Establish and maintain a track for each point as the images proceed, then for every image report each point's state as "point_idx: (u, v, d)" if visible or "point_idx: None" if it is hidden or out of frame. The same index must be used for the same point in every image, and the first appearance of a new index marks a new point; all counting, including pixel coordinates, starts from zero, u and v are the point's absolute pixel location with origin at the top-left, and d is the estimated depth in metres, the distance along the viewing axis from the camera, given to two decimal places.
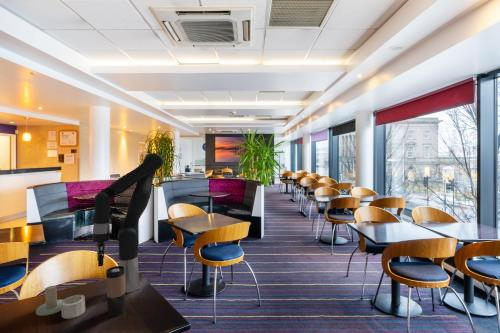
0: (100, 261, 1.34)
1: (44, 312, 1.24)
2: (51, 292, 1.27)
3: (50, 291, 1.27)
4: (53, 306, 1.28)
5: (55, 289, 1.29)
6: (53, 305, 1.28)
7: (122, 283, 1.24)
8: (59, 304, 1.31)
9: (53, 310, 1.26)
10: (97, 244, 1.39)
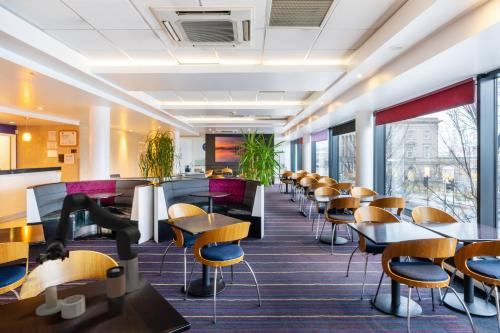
0: None
1: (44, 312, 1.24)
2: (51, 292, 1.27)
3: (50, 291, 1.27)
4: (53, 306, 1.28)
5: (55, 289, 1.29)
6: (53, 305, 1.28)
7: (122, 283, 1.24)
8: (59, 304, 1.31)
9: (53, 310, 1.26)
10: None
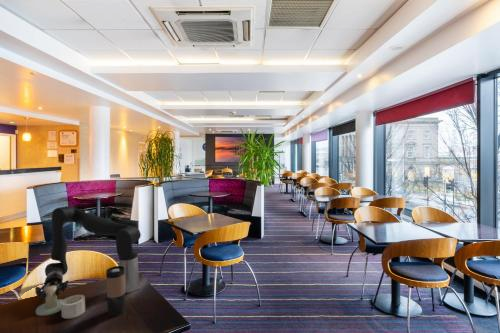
0: None
1: (44, 312, 1.24)
2: (51, 292, 1.27)
3: (50, 291, 1.27)
4: (53, 306, 1.28)
5: (55, 289, 1.29)
6: (53, 305, 1.28)
7: (122, 283, 1.24)
8: (59, 304, 1.31)
9: (53, 310, 1.26)
10: None
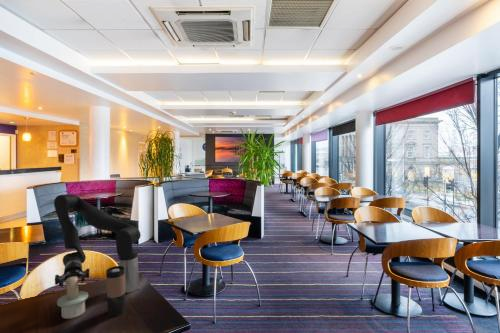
0: None
1: (65, 303, 1.20)
2: (72, 283, 1.23)
3: (72, 282, 1.23)
4: (74, 297, 1.24)
5: (76, 280, 1.25)
6: (74, 296, 1.24)
7: (122, 283, 1.24)
8: (80, 295, 1.27)
9: (75, 301, 1.22)
10: None
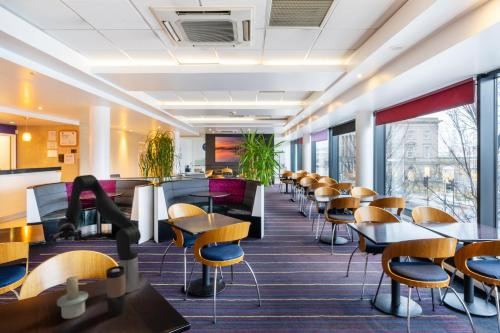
0: None
1: (65, 303, 1.20)
2: (72, 283, 1.23)
3: (72, 282, 1.23)
4: (74, 297, 1.24)
5: (76, 280, 1.25)
6: (74, 296, 1.24)
7: (122, 283, 1.24)
8: (80, 295, 1.27)
9: (75, 301, 1.22)
10: None
